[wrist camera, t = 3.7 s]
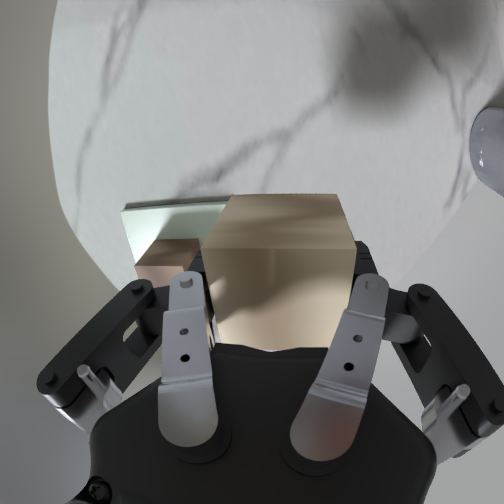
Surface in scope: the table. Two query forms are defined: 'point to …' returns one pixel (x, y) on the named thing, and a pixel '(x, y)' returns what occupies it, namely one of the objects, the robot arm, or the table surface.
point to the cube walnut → (166, 260)
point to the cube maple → (279, 269)
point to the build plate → (169, 223)
